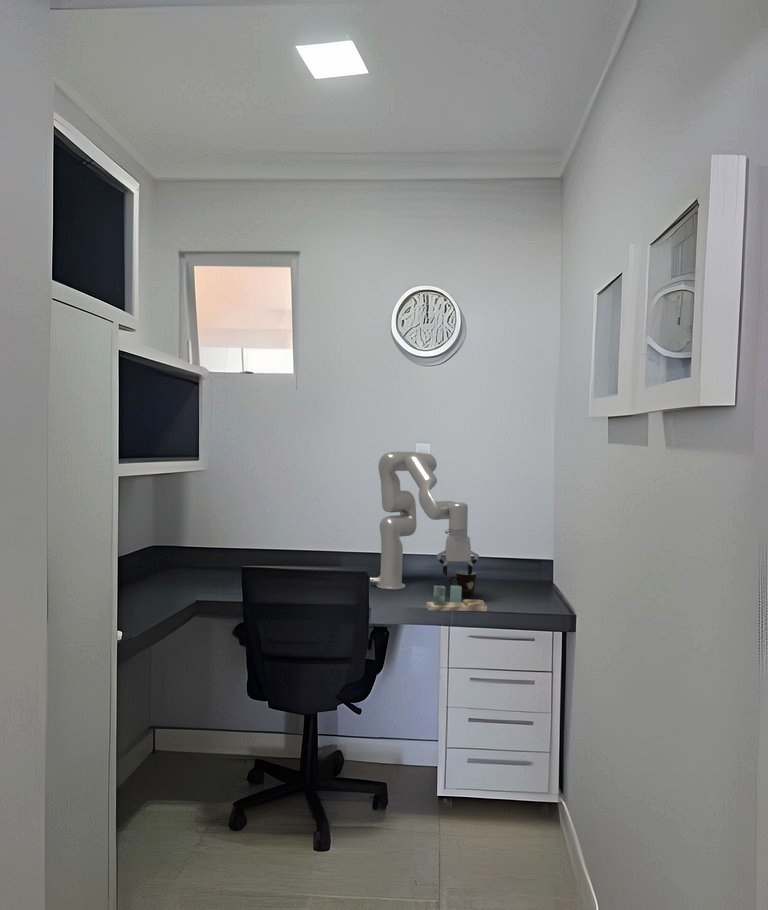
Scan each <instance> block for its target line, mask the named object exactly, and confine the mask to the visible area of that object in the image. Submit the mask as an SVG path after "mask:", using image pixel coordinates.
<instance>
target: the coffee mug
mask: <svg viewBox="0 0 768 910" xmlns="http://www.w3.org/2000/svg"><path fill="white" fill-rule="evenodd" d="M455 573H456V574H455V576H451V577H450V578H449V584H450V585H453V583H452V580H453V579H456V585H459V586H461V587H462V593H461V599H462V598H463V599H472V598H474V594H475V593H474V592H475V586H476V579H477V572H475V571H472V574H471V576H469V575H468V570H460V571H459V570H458V571H456V572H455Z"/></svg>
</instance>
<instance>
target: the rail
mask: <svg viewBox="0 0 768 910" xmlns="http://www.w3.org/2000/svg"><path fill="white" fill-rule="evenodd" d="M447 589H448V588H447V587H446V586H445V585H433V599H432V601H426V602H425V603H426V604H425V605H426V608H427V609H428V611H448V612H449V611H450V612H451V611H454V612H458V611H459V612H460V611H461V612H488V607H487V604H486V603H485V601H484V600H483V599H462V601H461V602H450V601H449V602H447V592H448V591H447Z"/></svg>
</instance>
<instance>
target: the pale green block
mask: <svg viewBox="0 0 768 910" xmlns="http://www.w3.org/2000/svg"><path fill="white" fill-rule="evenodd" d="M449 588H450V589H449V602H461V603H462V598H461V593H462V587H461V586H459V585H457V584H455V585H453V584H452V585H451V584H450V587H449Z"/></svg>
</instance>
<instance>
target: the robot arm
mask: <svg viewBox="0 0 768 910" xmlns="http://www.w3.org/2000/svg"><path fill="white" fill-rule="evenodd" d="M377 466H378V467H377V468H378V474H379V478H380V479H379V480H380V495H381V506H382V509H383V511H384V512H386V513H391V514H392V513H399V514H398V515H397V514H396V515H388V516H385V517H383V518H382V519H381V521H380V523H379V534H380V540H381V541H380V543H381V544H380V545H381V547H380V549H381V550H380V552H381V553H380V575H379V576H376V577H373V576H372V577H369V582H370V583H371V582H372V583H376V587H377V588H379V589H383V590H402V589H405V588H406V584H405V583H402V582H403V558H404V557H403V556H404V555H403V551H404V549H403V548H404V547H403V543H402V541H401V539H400V537H409V536H412V535H414V534H415V532H416V530H417V525H418V524H417V507H416V505H417V504H416V498H415V496H414V495H413V493H411V491H409V490H402V489H401V481H400V478H399V476H398V474H397V473H396V472H408V473H409V474H410V476H411V478H412V479H413V481H414V482H415V484H416V485H417V487H418V488H419V490H418V502H419V505H420V507H421V508H422V510H423V511H424V514H425V515H426V516H427V517H428V518H429V519H431V520H434V521H437V520H439V521H440V520H448V529H445V530H444V534H447V536H446V540H445V549H444V550H443V551H440V552H439V553H437V554H436V557H437V560H438V561H439V563H440V564H441V565H442V573H443V575H444V576H445V577H446V576H448V565H447V564H449V562H450V563H454V562H456V563H464V562H466V563H467V564H468V565H467V571H468V575H469V576H471V574H472V572H473V566H475V564H476V563H477V561H478V559H479V557H480V555H479V554H478V553H477V552H474V551H472V550H471V549H472V548H471V547H472V546H471V539H470V536H468V524H469V523H468V522H469V521H468V519H469V518H468V513H469V512H468V511H469V509H468V504H467V503H466V502H455V501H452V500H439V501H438V500H437V501H436V500H435V499H434V497H433V495H432V493H431V490H432V489H434V487H436V485H437V484H438V478H437V477H436V475H435V474H434V473H435V471H436V469H437V460H436V458H435V457H434V455H432V454H431V453H424V452H417V451H415V452H414V451H388V452H386V453H384V454H383V455H382V456H381V457H380V459H379V461H378V465H377ZM443 556H444V558H445V559H444V560H443V558H442V557H443ZM472 556H474V557H473V559H472ZM471 559H472V560H471Z"/></svg>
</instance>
